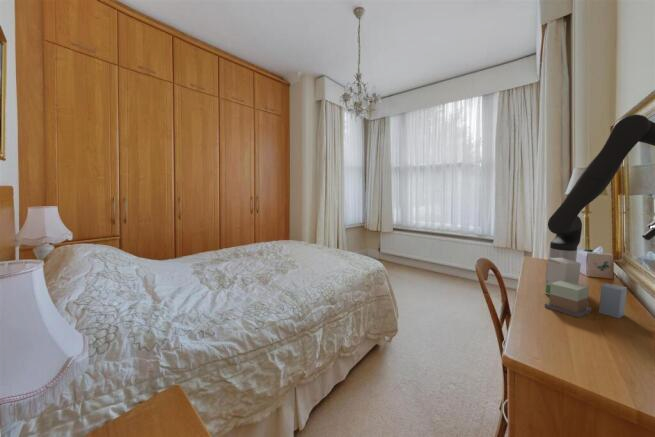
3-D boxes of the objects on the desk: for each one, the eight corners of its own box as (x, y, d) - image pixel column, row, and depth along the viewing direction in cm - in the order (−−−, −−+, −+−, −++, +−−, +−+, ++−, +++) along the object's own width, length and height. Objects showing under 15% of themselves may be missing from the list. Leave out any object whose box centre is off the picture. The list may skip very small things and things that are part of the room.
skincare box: (544, 293, 114) (546, 257, 112) (558, 292, 115) (560, 257, 113) (563, 301, 106) (566, 263, 104) (578, 300, 106) (581, 262, 105)
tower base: (544, 306, 101) (546, 283, 100) (557, 301, 106) (559, 278, 105) (578, 317, 92) (580, 291, 91) (591, 311, 97) (593, 286, 96)
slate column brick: (598, 312, 96) (601, 285, 95) (604, 309, 98) (607, 283, 97) (618, 318, 91) (621, 290, 90) (624, 315, 94) (627, 287, 93)
